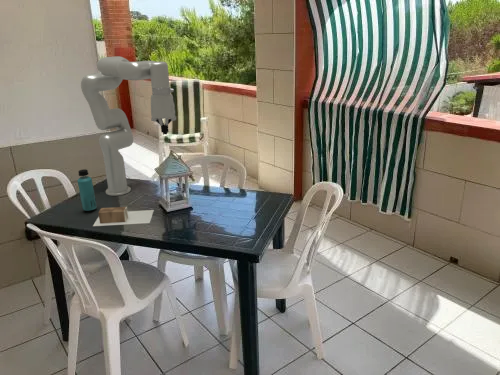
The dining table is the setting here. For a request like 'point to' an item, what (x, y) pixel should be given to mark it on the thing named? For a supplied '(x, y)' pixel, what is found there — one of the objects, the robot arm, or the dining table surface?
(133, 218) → the white rectangular board
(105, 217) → the walnut block
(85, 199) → the beverage bottle
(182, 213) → the dining table surface
